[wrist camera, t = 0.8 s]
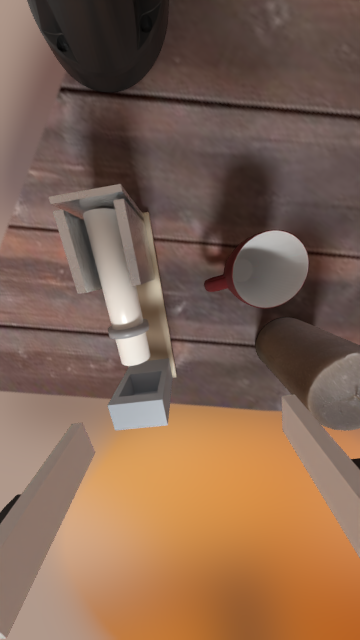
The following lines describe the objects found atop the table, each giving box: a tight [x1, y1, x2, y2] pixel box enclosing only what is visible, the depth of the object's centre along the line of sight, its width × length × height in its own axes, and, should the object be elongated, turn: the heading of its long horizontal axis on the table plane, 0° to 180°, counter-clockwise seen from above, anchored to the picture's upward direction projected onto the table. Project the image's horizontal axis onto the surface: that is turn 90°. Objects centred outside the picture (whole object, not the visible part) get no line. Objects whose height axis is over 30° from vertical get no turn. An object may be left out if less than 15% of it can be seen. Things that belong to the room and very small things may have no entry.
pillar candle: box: [256, 317, 360, 430], centre depth 24 cm, size 10×10×15 cm
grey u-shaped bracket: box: [49, 184, 155, 294], centre depth 22 cm, size 9×7×10 cm
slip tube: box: [83, 208, 151, 366], centre depth 22 cm, size 18×5×5 cm, turn 8°
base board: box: [128, 212, 176, 377], centre depth 30 cm, size 28×8×1 cm, turn 8°
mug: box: [204, 230, 309, 308], centre depth 24 cm, size 11×8×10 cm
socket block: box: [108, 358, 173, 430], centre depth 28 cm, size 4×7×10 cm, turn 98°
